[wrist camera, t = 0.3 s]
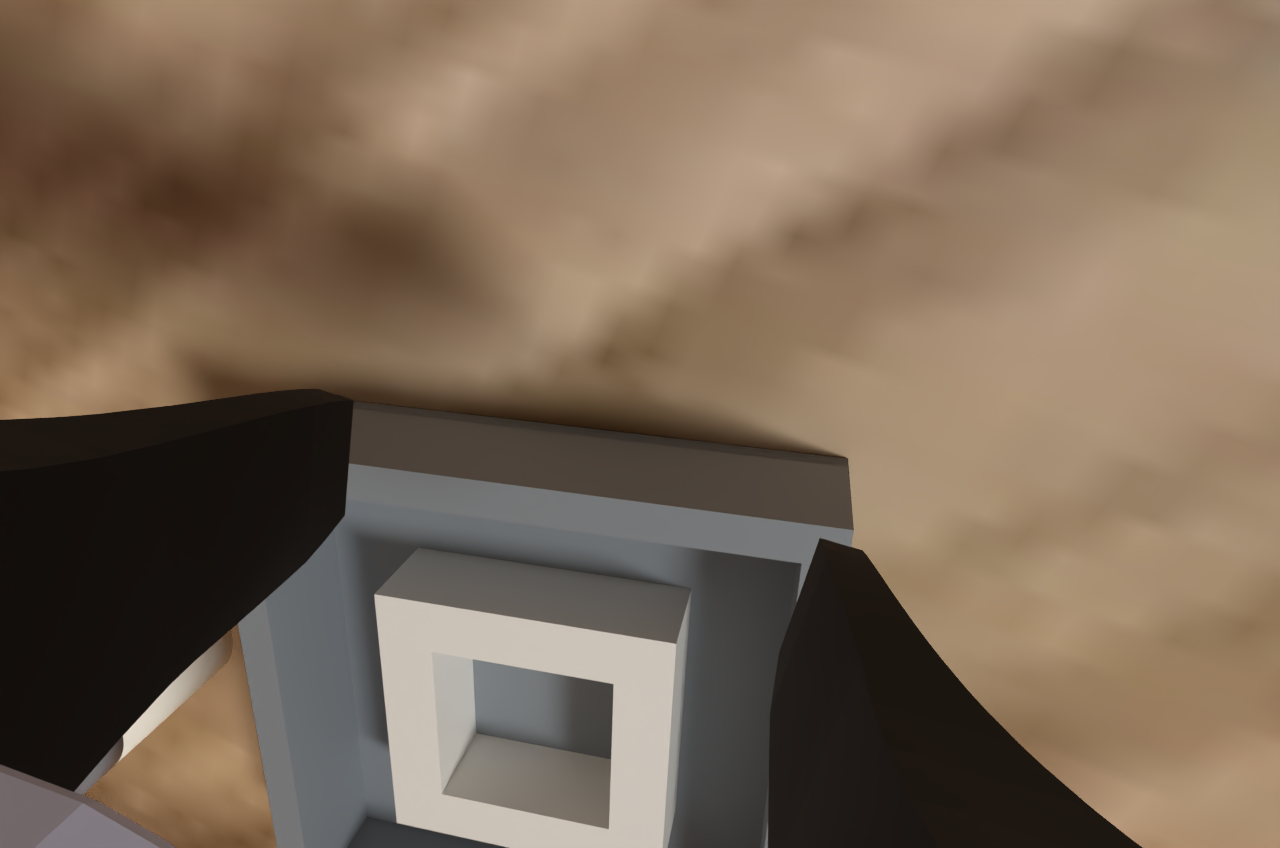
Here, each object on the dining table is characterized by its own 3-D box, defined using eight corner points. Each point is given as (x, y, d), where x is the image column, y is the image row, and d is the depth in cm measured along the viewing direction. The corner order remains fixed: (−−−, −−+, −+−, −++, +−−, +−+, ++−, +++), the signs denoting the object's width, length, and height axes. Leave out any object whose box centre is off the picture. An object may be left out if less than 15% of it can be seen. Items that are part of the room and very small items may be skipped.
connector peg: (240, 682, 29) (102, 815, 23) (145, 663, 29) (-11, 788, 24) (223, 587, 27) (72, 705, 22) (123, 571, 28) (-48, 680, 22)
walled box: (780, 913, 27) (774, 1037, 23) (354, 818, 30) (289, 915, 26) (847, 458, 21) (853, 530, 17) (301, 395, 24) (206, 444, 20)
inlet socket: (675, 810, 26) (660, 881, 23) (434, 761, 27) (396, 822, 25) (691, 588, 22) (676, 643, 20) (418, 547, 24) (374, 594, 22)
